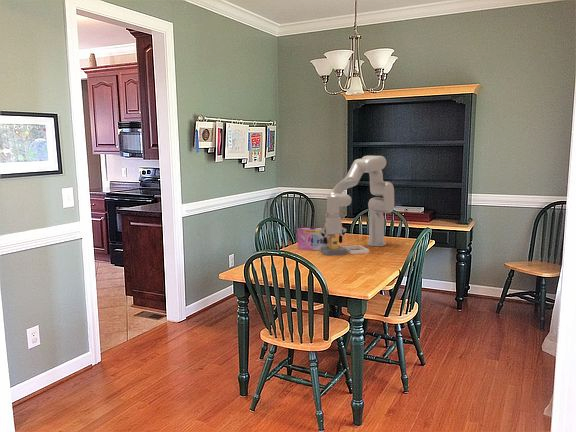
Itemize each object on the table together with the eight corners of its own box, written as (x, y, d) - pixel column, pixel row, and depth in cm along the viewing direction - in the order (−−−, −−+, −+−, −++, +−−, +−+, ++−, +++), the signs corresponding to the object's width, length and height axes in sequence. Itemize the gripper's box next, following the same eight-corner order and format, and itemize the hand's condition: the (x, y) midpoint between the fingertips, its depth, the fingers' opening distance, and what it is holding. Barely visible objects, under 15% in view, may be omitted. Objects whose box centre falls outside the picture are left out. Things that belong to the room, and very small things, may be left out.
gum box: (337, 249, 319) (337, 227, 317) (333, 251, 312) (333, 229, 310) (301, 247, 328) (301, 226, 326) (297, 249, 321) (297, 228, 319)
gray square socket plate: (320, 253, 312) (320, 246, 312) (338, 251, 315) (338, 245, 315) (327, 257, 301) (327, 250, 300) (346, 256, 304) (346, 249, 303)
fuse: (331, 254, 304) (331, 238, 303) (328, 252, 310) (328, 236, 309) (338, 253, 306) (338, 237, 304) (334, 251, 311) (334, 235, 310)
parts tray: (342, 250, 318) (342, 246, 318) (359, 249, 321) (359, 245, 321) (350, 255, 305) (350, 250, 304) (368, 254, 308) (369, 249, 308)
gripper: (321, 216, 299) (321, 245, 301) (348, 215, 303) (348, 243, 306) (317, 215, 306) (317, 242, 308) (344, 214, 310) (343, 241, 313)
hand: (332, 243), depth 307 cm, fingers open, 9 cm apart
